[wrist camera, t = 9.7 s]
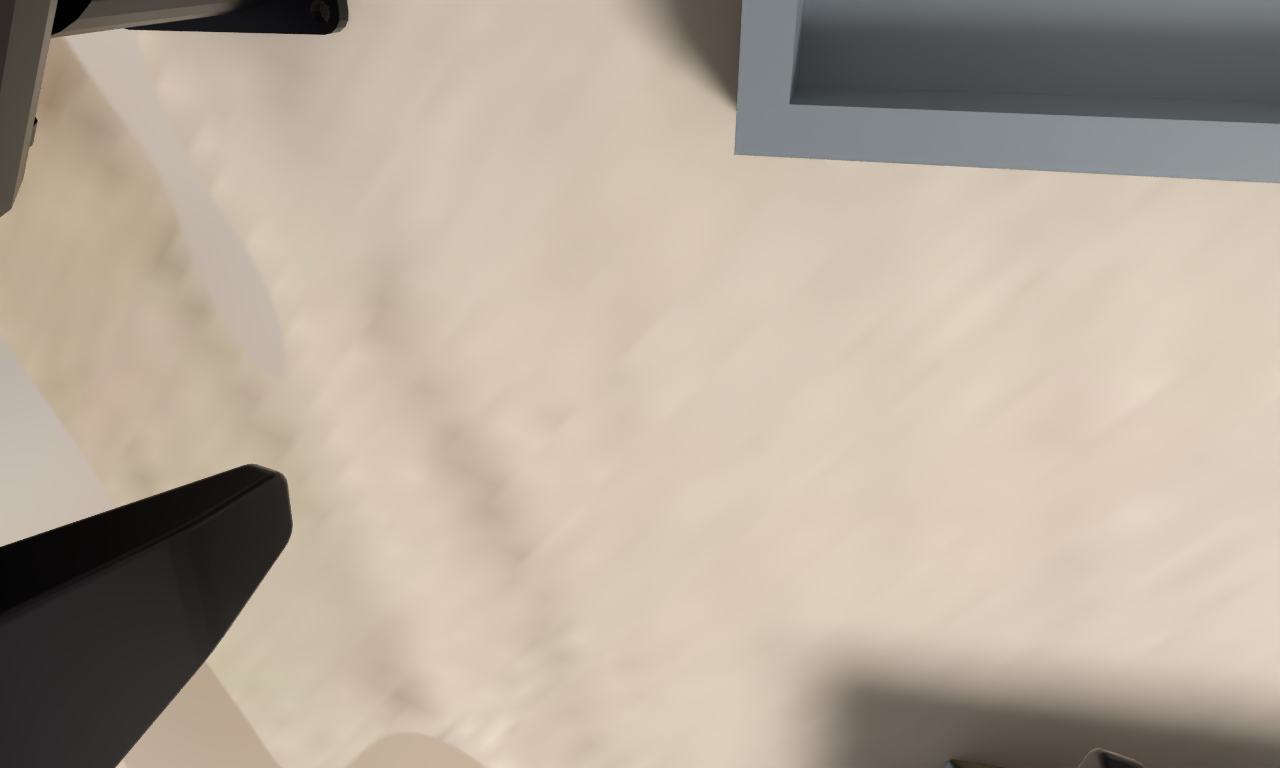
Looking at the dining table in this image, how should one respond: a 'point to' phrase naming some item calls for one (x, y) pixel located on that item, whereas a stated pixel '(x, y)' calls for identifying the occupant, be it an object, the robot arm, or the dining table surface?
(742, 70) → the tray
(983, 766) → the beverage carton
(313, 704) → the dining table surface
